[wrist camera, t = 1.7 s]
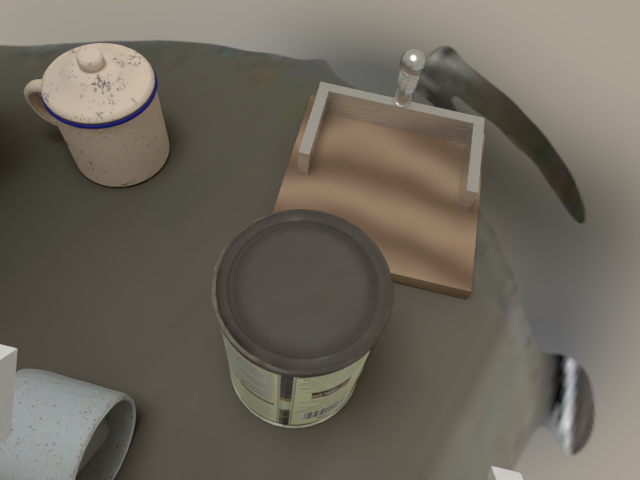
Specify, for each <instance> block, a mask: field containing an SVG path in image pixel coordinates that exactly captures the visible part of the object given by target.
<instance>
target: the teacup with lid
mask: <svg viewBox="0 0 640 480" xmlns="http://www.w3.org/2000/svg"><path fill="white" fill-rule="evenodd" d="M38 93H41V98H42V99H41V98H40V97H39V95H38ZM24 97H25V99H26V101H27V103H28V104H29V105H30V107H31V108H32V109H33V110H34V111H35V112H36V113H37V114H38V115H39V116H40V117H42V118H43V119H45V120H46V121H48V122H50V123H52V124H54V125H56V126H58V127H59V129H60V131H61V133H62V135H63V138H64V140H65V142H66V144H67V146H68V148H69V150H70V152H71V154H72V156H73V158H74V160H75V162H76V164H77V166H78V168H79V169H80V171H81V172H82V173H83V174H84V175H85V176H86V177H87V178H89V179H90V180H92V181H94V182H96V183H98V184H101V185H105V186H111V187H124V186H130V185H135V184H138V183H140V182H143V181H145V180H147V179H149V178H150V177H152V176H153V175H155V174H156V173H157V172H158V171H159V170H160V169H161V168H162V166H163V165H164V164H165V162H166V160H167V157H168V154H169V139H168V135H167V131H166V127H165V123H164V118H163V114H162V110H161V106H160V102H159V98H158V94H157V77H156V74H155V71H154V69H153V68H152V66H151V65H150V64H149V62H148V61H147V60H146V59H145V58H144V57H143V56H142V55H140V54H139V53H137V52H136V51H134V50H132V49H130V48H127V47H124V46H121V45H117V44H109V43H97V44H89V45H84V46H80V47H77V48H74V49H72V50H70V51H68V52H66V53H64V54H62V55H61V56H59V57H58V58H57V59H55V60H54V61H53V62H52V63H51V64H50V66H49V67H48V68H47V70H46V71H45V73H44V75H43V78H42V80H41V79H37V80H33V81H31V82H29V83H28V84H27V86H26V87H25V89H24Z"/></svg>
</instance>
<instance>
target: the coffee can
mask: <svg viewBox="0 0 640 480" xmlns="http://www.w3.org/2000/svg"><path fill="white" fill-rule="evenodd" d="M211 294H212V304H213V308H214V312H215V316H216V319H217V322H218V324H219V326H220V328H221V332H222V336H223V340H224V345H225V349H226V354H227V358H228V362H229V368H230V376H231V380H232V384H233V386H234V389H235V391H236V394H237V395H238V397H239V398H240V400H241V401H242V403H243V404H244V405H245V406H246V407H247V408H248V409H249V410H250V412H251V413H252V414H254V415H255V416H257V417H259V418H260V419H262V420H263V421H265V422H267V423H270V424H272V425H275V426H279V427H284V428H305V427H309V426H313V425H316V424H319V423H321V422H323V421H325V420H327V419H329V418H330V417H332V416H333V415H334V414H336V413H337V412H338V411H339V410H340V409H341V408H342V407H343V406H344V405H345V404H346V403H347V401H348V400H349V398H350V397H351V395H352V393H353V391H354V389H355V386H356V383H357V381H358V378H359V376H360V374H361V372H362V370H363V368H364V366H365V363H366V361H367V360H368V358H369V356H370V354H371V351H372V349H373V347H374V345H375V344H376V343H377V341H378V340H379V338H380V337H381V335H382V334H383V332H384V330H385V328H386V326H387V324H388V321H389V318H390V315H391V312H392V307H393V299H394V290H393V281H392V276H391V273H390V269H389V267H388V264H387V262H386V260H385V258H384V256H383V254H382V252H381V250H380V249H379V248H378V246H377V245H376V244H375V243H374V241H373V240H372V239H371V238H370V237H369V236H368V235H367V234H366V233H364V232H363V231H362V230H361V229H359V228H358V227H357V226H355V225H354V224H352V223H350V222H348V221H347V220H345V219H343V218H341V217H338V216H336V215H333V214H330V213H327V212H322V211H317V210H307V209H292V210H284V211H280V212H275V213H272V214H268V215H266V216H263V217H261V218H259V219H257V220H255V221H253V222H251V223H250V224H248V225H247V226H245V227H244V228H243V229H241V230H240V231H239V232H238V233H237V234H236V235H235V236H234V237H233V238H232V239H231V240H230V241H229V242H228V244H227V245H226V246H225V248H224V249H223V251H222V253H221V254H220V256H219V259H218V261H217V263H216V266H215V269H214V273H213V277H212V285H211Z"/></svg>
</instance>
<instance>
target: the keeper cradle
mask: <svg viewBox="0 0 640 480" xmlns="http://www.w3.org/2000/svg"><path fill="white" fill-rule="evenodd" d="M399 65H400V69H401V70H400V74H399V78H398V81H397V85H396V88H395V92H394V96H393V98H392V97H387V96H383V95H378V94H374V93H369V92H365V91H360V90H356V89H351V88H347V87H342V86H338V85H333V84H329V83H324V82H320V85H319V89H318V92H317V95H316V98H315V101H314V104H313V108H312V111H311V114H310V117H309V120H308V123H307V127H306V130H305V133H304V136H303V139H302V142H301V146H300V149H299V152H298V165H297V173H300V174H304V175H308V172H309V168H310V165H311V162H312V158H313V155H314V152H315V148H316V145H317V141H318V138H319V135H320V131H321V128H322V125H323V121H324V118H325V114H331V115H335V116H340V117H344V118H348V119H353V120H357V121H362V122H366V123H371V124H375V125H380V126H384V127H389V128H393V129H398V130H402V131H406V132H411V133H415V134H420V135H424V136H429V137H433V138H438V139H442V140H447V141H451V142H455V143H460V144H464V146H463V155H462V164H461V173H460V182H459V191H458V200H457V210H461V211H465V212H468V210H469V208H470V206H471V205H472V203H473V201H474V199H475V198H476V196H477V194H478V190H479V178H480V167H481V155H482V143H483V131H484V120H485V118H482V117H477V116H473V115H468V114H464V113H459V112H455V111H450V110H446V109H441V108H437V107H432V106H427V105H423V104H419V103H414V102H412V98H413V95H414V92H415V89H416V86H417V82H418V79H419V76H420V74H421V73H423V71H424V70H425V68H426V65H427V59H426V56H425V54H424V53H423V52H422V51H421V50H419V49H415V48H412V49H408V50H407V51H405V52H404V53H403V54H402V56H401V57H400V61H399Z"/></svg>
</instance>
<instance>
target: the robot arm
mask: <svg viewBox="0 0 640 480" xmlns="http://www.w3.org/2000/svg"><path fill="white" fill-rule="evenodd" d="M17 350H18V349H17V348H13V347H9V346H5V345H1V344H0V444H1V443H2V442H4V441H5V440H6V439H7V438H8V437H9V436H10V435H11V424H12V412H13V400H14V387H15V375H16V362H17ZM487 480H523V478H522V476H521V473H518V472H514V471H510V470H506V469H502V468H498V467H494V466H491V469H490V472H489V475H488V478H487Z"/></svg>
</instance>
